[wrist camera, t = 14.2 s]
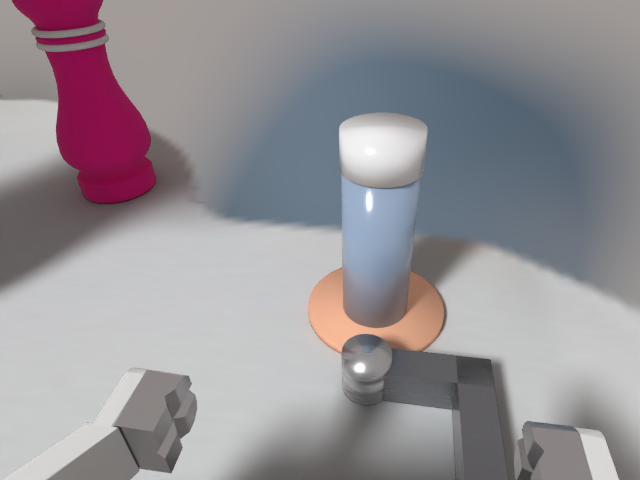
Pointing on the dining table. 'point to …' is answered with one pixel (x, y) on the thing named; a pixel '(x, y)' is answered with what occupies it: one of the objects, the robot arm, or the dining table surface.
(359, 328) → the coaster
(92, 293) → the dining table surface
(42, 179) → the dining table surface
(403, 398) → the rail
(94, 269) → the dining table surface
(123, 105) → the pepper mill
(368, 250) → the shaker
